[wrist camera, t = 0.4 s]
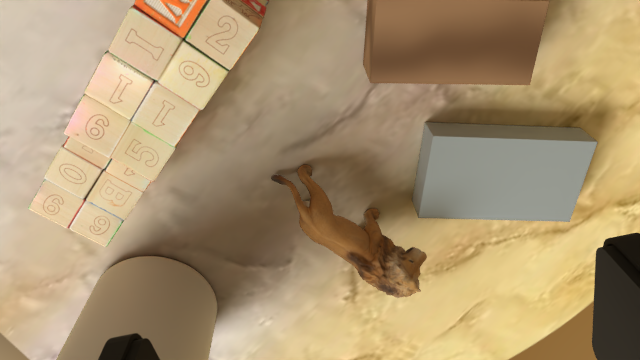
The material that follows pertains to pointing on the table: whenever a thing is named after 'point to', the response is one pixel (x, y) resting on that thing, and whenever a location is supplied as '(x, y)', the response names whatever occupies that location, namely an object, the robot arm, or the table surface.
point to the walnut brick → (453, 41)
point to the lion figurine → (357, 241)
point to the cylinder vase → (147, 310)
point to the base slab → (501, 171)
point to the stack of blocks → (141, 107)
